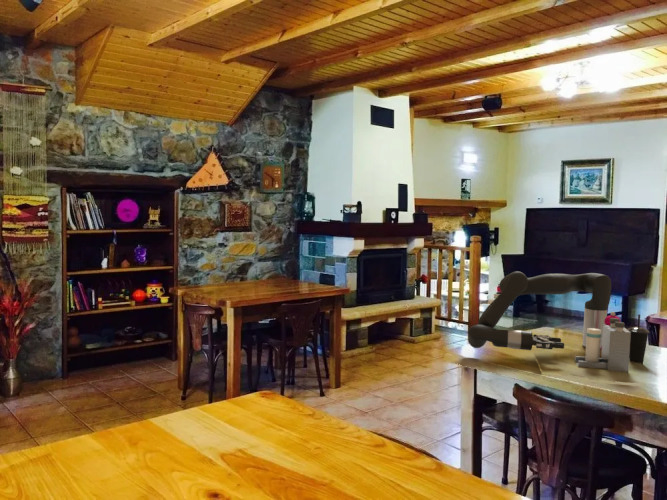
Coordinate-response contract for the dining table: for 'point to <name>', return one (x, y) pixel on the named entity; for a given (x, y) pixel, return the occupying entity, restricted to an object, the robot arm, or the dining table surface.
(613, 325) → the plunger
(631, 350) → the drinking cup
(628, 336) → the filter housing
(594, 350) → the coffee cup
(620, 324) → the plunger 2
